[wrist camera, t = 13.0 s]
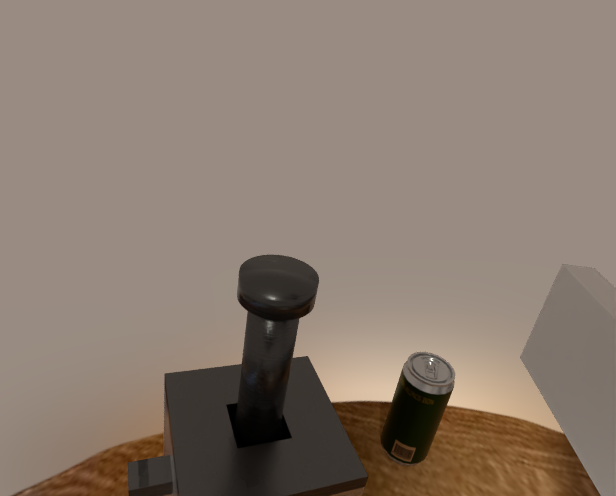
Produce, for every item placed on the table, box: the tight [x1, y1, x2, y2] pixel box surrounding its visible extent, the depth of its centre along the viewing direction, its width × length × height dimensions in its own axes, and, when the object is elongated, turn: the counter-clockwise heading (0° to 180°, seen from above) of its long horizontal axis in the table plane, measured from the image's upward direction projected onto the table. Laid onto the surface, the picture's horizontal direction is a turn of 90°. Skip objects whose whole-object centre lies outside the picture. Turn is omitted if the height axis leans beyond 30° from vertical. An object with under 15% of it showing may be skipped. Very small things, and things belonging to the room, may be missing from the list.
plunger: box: [234, 255, 319, 448], centre depth 32 cm, size 8×8×28 cm
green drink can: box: [381, 352, 455, 466], centre depth 50 cm, size 5×5×12 cm
